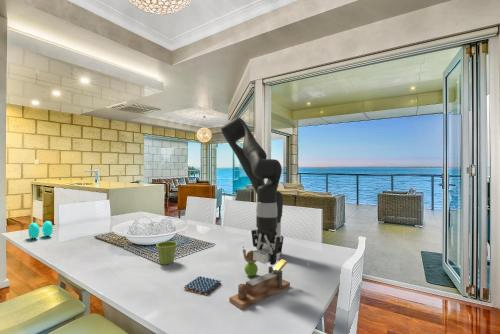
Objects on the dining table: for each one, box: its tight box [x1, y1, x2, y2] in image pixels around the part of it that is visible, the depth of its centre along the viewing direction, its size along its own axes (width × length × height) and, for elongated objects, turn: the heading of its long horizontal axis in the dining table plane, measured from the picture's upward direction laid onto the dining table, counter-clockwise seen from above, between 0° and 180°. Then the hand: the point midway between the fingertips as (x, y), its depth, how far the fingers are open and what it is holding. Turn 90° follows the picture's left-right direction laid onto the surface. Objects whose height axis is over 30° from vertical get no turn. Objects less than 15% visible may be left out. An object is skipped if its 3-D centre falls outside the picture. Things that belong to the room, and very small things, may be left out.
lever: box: [271, 258, 288, 274], centre depth 94 cm, size 1×4×6 cm
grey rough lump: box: [253, 247, 281, 265], centre depth 89 cm, size 8×6×3 cm
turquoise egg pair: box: [28, 220, 54, 239], centre depth 155 cm, size 10×10×10 cm
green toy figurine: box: [242, 246, 259, 277], centre depth 103 cm, size 5×6×12 cm
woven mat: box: [183, 275, 222, 296], centre depth 92 cm, size 10×11×2 cm
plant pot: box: [155, 240, 178, 266], centre depth 116 cm, size 9×9×9 cm
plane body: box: [228, 265, 291, 310], centre depth 88 cm, size 24×6×7 cm, turn 132°
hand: (266, 261), depth 89 cm, fingers closed on grey rough lump, 5 cm apart
